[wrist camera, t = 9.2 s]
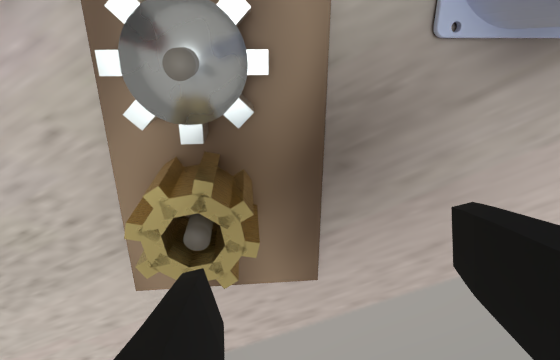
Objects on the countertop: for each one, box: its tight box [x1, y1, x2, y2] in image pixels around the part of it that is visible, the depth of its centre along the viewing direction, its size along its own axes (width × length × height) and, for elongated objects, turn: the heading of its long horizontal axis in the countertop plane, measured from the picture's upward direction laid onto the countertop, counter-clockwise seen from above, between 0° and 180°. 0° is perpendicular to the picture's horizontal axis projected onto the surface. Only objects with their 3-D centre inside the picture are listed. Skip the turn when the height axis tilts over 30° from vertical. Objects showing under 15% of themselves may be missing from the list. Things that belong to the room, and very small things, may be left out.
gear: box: [95, 0, 268, 144], centre depth 15 cm, size 7×7×2 cm
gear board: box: [81, 0, 331, 291], centre depth 17 cm, size 11×16×4 cm
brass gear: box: [124, 152, 260, 289], centre depth 17 cm, size 6×6×4 cm
